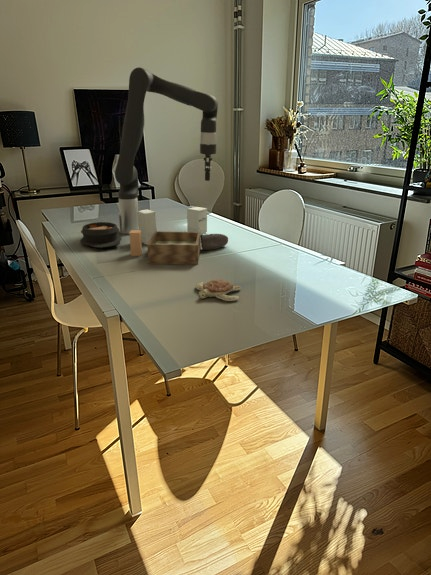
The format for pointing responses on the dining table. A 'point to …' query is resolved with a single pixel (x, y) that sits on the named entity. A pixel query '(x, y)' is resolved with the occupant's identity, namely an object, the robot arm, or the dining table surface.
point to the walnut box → (174, 248)
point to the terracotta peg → (135, 242)
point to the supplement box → (197, 220)
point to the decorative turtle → (217, 290)
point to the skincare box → (146, 224)
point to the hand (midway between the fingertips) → (207, 179)
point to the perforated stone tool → (213, 241)
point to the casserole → (100, 234)
